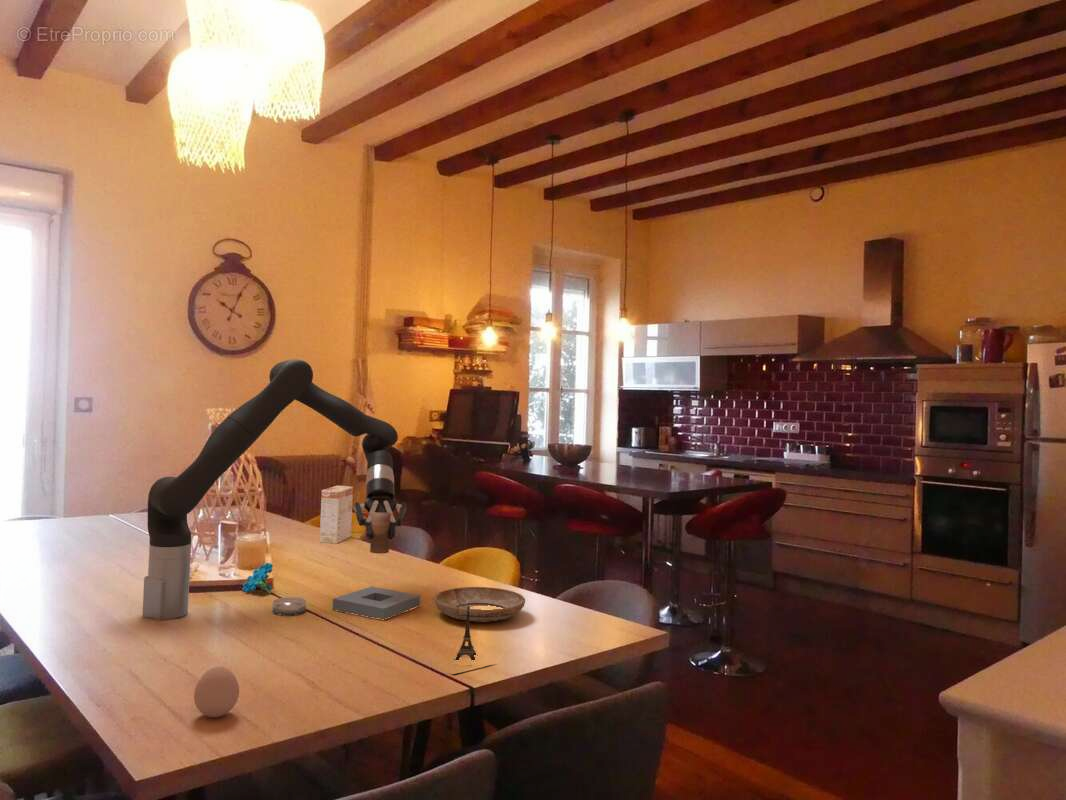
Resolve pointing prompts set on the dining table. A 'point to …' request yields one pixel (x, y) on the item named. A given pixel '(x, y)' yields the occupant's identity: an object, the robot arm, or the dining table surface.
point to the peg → (380, 532)
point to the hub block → (376, 602)
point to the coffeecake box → (336, 514)
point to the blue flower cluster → (259, 579)
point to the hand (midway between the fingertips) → (380, 537)
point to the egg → (216, 692)
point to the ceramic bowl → (479, 603)
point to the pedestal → (289, 606)
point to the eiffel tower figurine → (467, 638)
